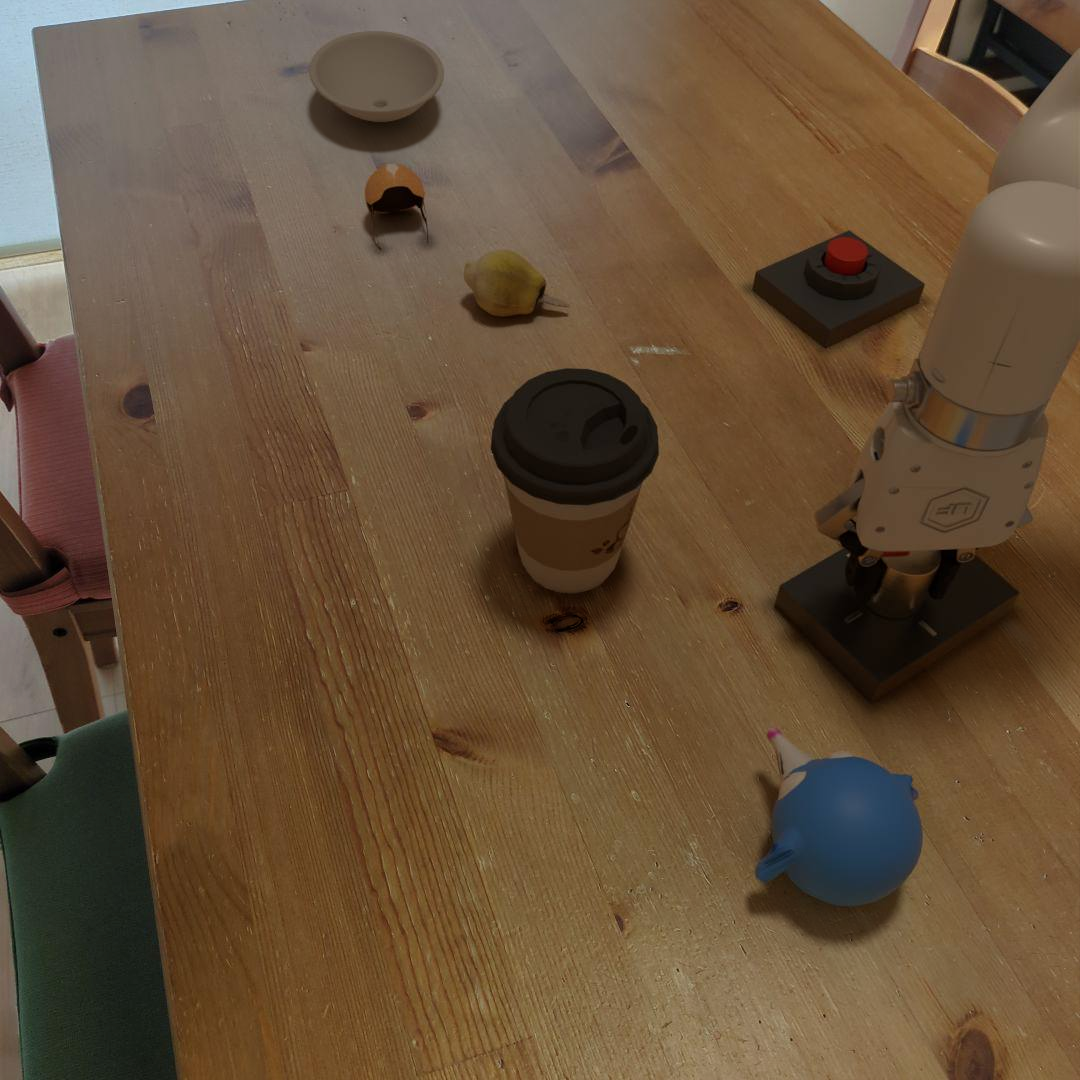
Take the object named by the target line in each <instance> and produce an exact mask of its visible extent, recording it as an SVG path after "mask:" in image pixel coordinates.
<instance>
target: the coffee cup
mask: <svg viewBox="0 0 1080 1080" xmlns="http://www.w3.org/2000/svg"><path fill="white" fill-rule="evenodd" d="M659 447H660V445H659V435H658V425H657V423H656V421H655V419H654V417H653V415H652V412H651V411H650V409H649V407H648V406H647V405H646V404H645V403H644V402H643V401H642V399H641V397H640V395H639V394H638V393H637V392H636V391H634V390H633V388H631V387H630V386H629V385H628V384H627V383H626V382H624V381H623V380H621V379H619V378H617V377H615V376H613V375H611V374H609V373H606V372H602V371H598V370H594V369H590V368H574V367H573V368H572V367H565V368H561V369H555V370H549V371H545V372H543V373H541V374H538V375H536V376H534V377H532V378H529V379H528V380H526V381H525V382H524V383H523V384H522V385H521V386H519V387H518V388H517V389H516V390H515V391H514V392H513V394H512V396H510V397H509V398H508V399H506V401H504V403H503V404H502V406H501V407H500V410H499V411H498V413H497V414H496V416H495V418H494V420H493V428H492V430H491V441H490V451H491V454H492V456H493V459H494V462H495V465H496V468H497V469H498V470H499V471H500V473H502V475H503V480H504V486H505V491H506V496H507V500H508V505H509V510H510V516H511V520H512V525H513V530H514V531H513V532H514V535H515V540H516V546H517V550H518V555H519V558H520V560H521V564H522V566H523V567H524V568H525V572H526V573H527V574H528V575H529V576H530V577H531V579H532V581H534V582H535V583H537V584H538V585H540V586H541V587H542V588H544V589H546V590H550V591H553V592H556V593H560V594H579V593H584V592H587V591H592V589H595V588H596V587H598V586H600V585H602V584H603V583H604V582H605V581H606V580H607V579H608V577H610V576H611V573H612V572H613V571H614V570H615V569H616V566H617V564H618V561H619V558H620V555H621V552H622V549H623V546H624V543H625V541H626V540H625V539H626V537H627V533H628V530H629V527H630V524H631V521H632V517H633V514H634V511H635V508H636V504H637V501H638V498H639V495H640V492H641V488H642V485H643V482H644V481H645V480H647V478H648V477H649V476H650V475H651V474H652V473H653V470H654V469H655V465H656V463H657V461H658V458H659V456H660V448H659Z"/></svg>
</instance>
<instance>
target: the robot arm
mask: <svg viewBox="0 0 1080 1080" xmlns="http://www.w3.org/2000/svg"><path fill="white" fill-rule="evenodd" d="M986 190H987V191H986V193H987V194H986V195H985V196H984V197H983V198H982V199H981V200H979V202H978V203H977V204H976V205H975V207H974V208H973V210H972V211H971V213H970V215H969V217H968V220H967V222H966V225H965V226H964V229H963V231H962V235H961V237H960V240H959V243H958V246H957V249H956V251H955V254H954V256H953V259H952V262H951V265H950V268H949V271H948V273H947V276H946V279H945V282H944V285H943V287H942V290H941V293H940V295H939V298H938V301H937V304H936V307H935V310H934V312H933V315H932V318H931V321H930V322H929V326H928V329H927V332H926V334H925V337H924V340H923V342H922V345H921V349H920V351H919V353H918V356H917V358H914V359H913V362H912V364H911V368H910V371H909V373H908V374H906V375H904V376H902V377H901V378H892V379H889V380H888V381H887V384H886V398H887V401H888V403H887V404H886V406H885V407H884V410H883V411H882V413H881V414H880V416H879V417H878V419H877V421H876V422H875V424H874V425H873V427H872V429H871V431H870V433H869V435H868V437H867V439H866V441H865V443H864V444H863V447H862V448H861V451H860V454H859V456H858V458H857V461H856V463H855V466H854V468H853V469H852V474H851V476H850V479H849V482H848V485H847V488H846V489H845V490H844V491H842V492H841V493H840V494H838V495H837V496H835V497H834V498H833V499H831V500H830V501H828V502H827V503H826V504H825V505H823V506H822V507H821V508H819V509H818V510H817V511H815V512H814V513H813V518H814V523H815V525H816V529H817V531H818V532H817V533H820V534H821V535H824V536H825V537H828V538H829V539H831V540H833V541H838V542H839V543H840V546H841V547H843V548H845V549H847V550H848V551H849V552H850V556H849V558H848V561H847V564H846V567H845V577H846V580H847V583H848V585H849V586H854V589H855V593H856V596H857V599H858V602H859V603H867V602H868V600H870V599H871V597H872V594H873V592H874V589H875V587H876V584H877V582H878V580H879V577H880V575H881V572H882V565H881V562H880V558H881V557H882V555H883V554H884V553H885V551H923V550H941V553H942V560H941V563H940V566H939V568H938V570H937V572H936V574H935V576H934V578H933V581H932V583H931V585H930V587H929V589H928V592H929V595H930V597H931V598H933V599H942V598H943V596H944V594H945V592H946V590H947V588H948V586H949V584H950V582H951V581H953V579H954V577H955V575H956V573H957V571H958V569H959V567H960V565H961V563H965V562H968V561H971V560H972V559H973V558H974V557H975V554H976V553H977V550H980V549H981V548H989V547H993V546H997V545H1001V544H1002V543H1005V542H1006V541H1007V540H1009V539H1010V538H1011V536H1012V535H1013V534H1014V533H1015V531H1016V529H1018V528H1020V527H1024V526H1025V525H1028V524H1029V523H1031V522H1032V521H1033V520H1034V518H1033V517H1034V516H1033V515H1032V512H1031V510H1030V508H1029V506H1028V504H1029V501H1030V499H1031V496H1032V494H1033V492H1034V489H1035V485H1036V483H1037V480H1038V477H1039V474H1040V470H1041V468H1042V463H1043V459H1044V455H1045V450H1046V446H1047V440H1048V436H1049V435H1048V434H1049V429H1050V428H1049V426H1050V425H1049V421H1048V418H1047V416H1046V414H1045V413H1044V412H1045V410H1046V409H1047V406H1048V404H1049V402H1050V400H1051V399H1052V396H1053V395H1054V392H1055V391H1056V389H1057V387H1058V384H1059V382H1060V381H1061V379H1062V376H1063V374H1064V372H1065V371H1066V369H1067V367H1068V365H1069V363H1070V361H1071V358H1072V356H1073V354H1074V352H1075V350H1076V348H1077V346H1078V344H1079V342H1080V46H1079V48H1077V50H1076V51H1074V53H1073V54H1072V55H1071V57H1069V59H1068V60H1067V61H1066V62H1065V64H1064V65H1063V66H1062V67H1061V69H1059V71H1058V72H1057V73H1056V75H1055V76H1054V77H1053V78H1052V79H1051V81H1050V82H1049V83H1048V85H1046V87H1045V88H1044V89H1043V91H1042V92H1041V93H1040V95H1038V97H1036V99H1035V100H1034V102H1033V103H1032V104H1031V105H1030V106H1029V108H1028V109H1027V110H1026V112H1025V113H1024V114H1023V116H1022V117H1021V119H1020V120H1019V121H1018V122H1017V124H1016V126H1015V127H1014V128H1013V130H1012V131H1011V133H1010V134H1009V136H1008V137H1007V138H1006V140H1005V142H1004V144H1003V145H1002V147H1001V149H1000V151H999V152H998V153H997V156H996V158H995V160H994V162H993V165H992V168H991V170H990V173H989V177H988V183H987V189H986ZM854 517H856V519H855V520H854Z"/></svg>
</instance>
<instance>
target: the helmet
mask: <svg viewBox="0 0 1080 1080" xmlns="http://www.w3.org/2000/svg"><path fill="white" fill-rule="evenodd" d="M425 196H426V192H425V188H424V185H423V183H422V180H421V179H420V177H419V176H418V174H417V173H415V172H414V170H413V169H411V168H409V167H407V166H405V165H402V164H400V163H399V164H398V163H387V164H384V165H382V166H380V167H379V168H377V169H376V170H375V171H373V173H372V174H370V176H369V178H368V179H367V181H366V183H365V187H364V200H365V204H366V208H367V210H368V212H369V215H370V217H371V221H372V226H373V229H374V234H375V238H376V241H377V244H378V247H379V248H380V250H382V248H381V246H380V242H379V240H378V237H377V233H376V224H375V219H374V214H375V213H381V214H388V213H394V212H404V211H407V210H409V209H412V208H415V207H417V208H418V209H419V210H420V214H421V217H422V219H423V221H424V224H425V227H426V237H427V239H426V243H427V244H429V228H428V220H427V217H426V215H427V211H426V206H425Z"/></svg>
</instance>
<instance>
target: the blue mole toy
mask: <svg viewBox="0 0 1080 1080" xmlns="http://www.w3.org/2000/svg"><path fill="white" fill-rule="evenodd" d="M766 737H767V739H768V741H769V742H770V743H771V744H772V747H773V750H774V755H775V759H776V763H777V768H778V774H779V785H780V786H779V789H778V797H777V799H776V801H775V803H774V806H773V809H772V813H771V836H772V841H773V846H772V847H771V849H769V851H768V853H767V854H766V855H765V856H763V857H762V859H760V860H759V861H758V862H757V864H756V865H755V868H754V874H755V878H756V879H757V880H758V881H760V882H762V883H768V882H771V881H773V879H775V878H777V877H778V876H779V875H781V874H782V873H784V872H785V874H786V875H787V877H788V878H789V880H791V881H792V882H793V883H794V885H795V886H796V887H797V888H798V889H800V890H801V891H802V892H803V893H805V894H807V895H809V896H810V897H811V898H812V897H813V898H815V899H817V900H819V901H822V902H825V903H827V904H829V905H833V906H839V907H858V906H864V905H868V904H872V903H875V902H877V901H879V900H882V899H884V898H885V897H887V896H888V895H891V894H892V893H894V892H895V891H896V890H897V889H898V888H899V887H901V886H902V885H903V884H904V883H905V882H906V881H907V879H908V878H909V877H910V876H911V874H912V873H913V871H914V869H915V868H916V866H917V864H918V861H919V859H920V856H921V852H922V848H923V837H924V836H923V835H924V834H923V825H922V819H921V816H920V813H919V809H918V808H917V805H916V803H915V802H914V801H916V800H918V799H919V796H920V794H919V793H920V792H919V790H917V789H916V787H913V786H914V784H913V781H914V778H913V775H909V774H901V773H892V772H890V771H889V770H887V769H886V768H885V767H883V766H881V765H879V764H878V763H876V762H874V761H872V760H869V759H866V758H863V757H859V756H854V754H853V753H851V751H848V750H833V752H831V753H830V754H829V755H828V756H827V757H823V758H814V757H812V756H811V755H809V754H808V753H807V752H805V751H804V750H802V749H801V748H800V747H798V746H797V745H795V744H794V743H793V742H791V741H790V739H787V737H785V736H784V735H783V733H782V731H781V730H780V729H779V728H777V727H770V728H768V730H767V732H766Z"/></svg>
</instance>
